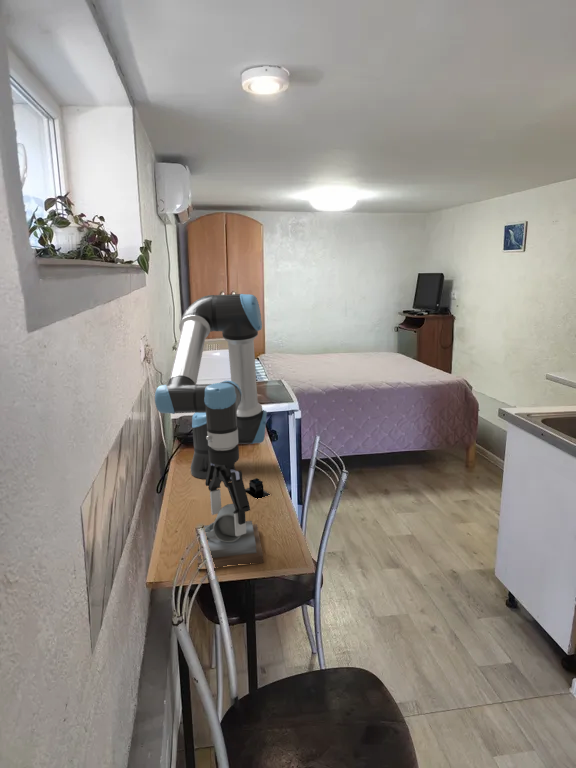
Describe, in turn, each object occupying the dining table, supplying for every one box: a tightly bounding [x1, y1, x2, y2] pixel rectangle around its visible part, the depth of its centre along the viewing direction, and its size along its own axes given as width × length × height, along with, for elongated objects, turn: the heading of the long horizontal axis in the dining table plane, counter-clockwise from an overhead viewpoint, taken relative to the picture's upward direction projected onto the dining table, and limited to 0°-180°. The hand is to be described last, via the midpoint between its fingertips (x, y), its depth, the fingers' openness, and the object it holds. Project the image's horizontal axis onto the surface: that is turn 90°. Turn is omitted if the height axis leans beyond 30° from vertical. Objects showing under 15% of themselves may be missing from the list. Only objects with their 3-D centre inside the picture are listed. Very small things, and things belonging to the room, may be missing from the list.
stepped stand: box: [197, 520, 264, 569], centre depth 128 cm, size 16×16×4 cm
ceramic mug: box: [205, 503, 241, 542], centre depth 127 cm, size 11×8×8 cm
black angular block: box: [245, 477, 271, 500], centre depth 161 cm, size 12×7×5 cm, turn 36°
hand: (228, 523), depth 127 cm, fingers open, 13 cm apart
